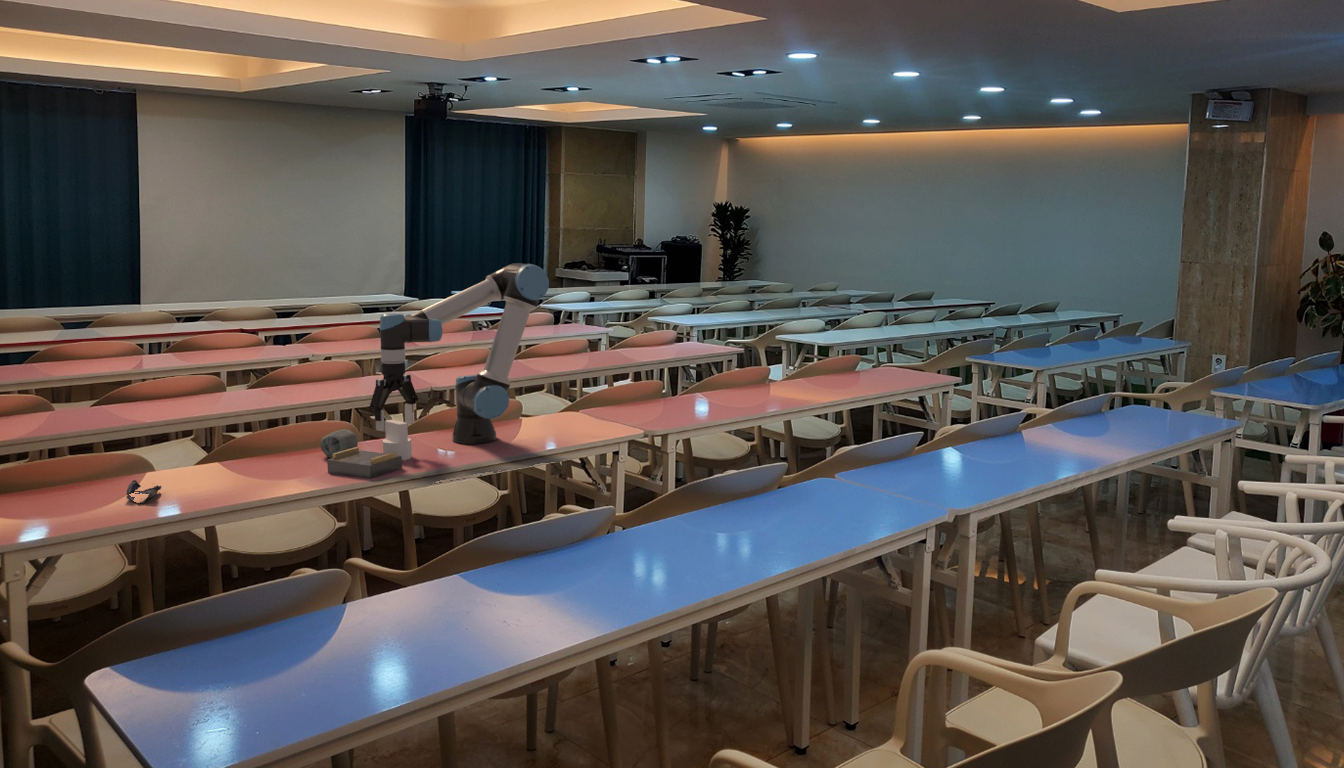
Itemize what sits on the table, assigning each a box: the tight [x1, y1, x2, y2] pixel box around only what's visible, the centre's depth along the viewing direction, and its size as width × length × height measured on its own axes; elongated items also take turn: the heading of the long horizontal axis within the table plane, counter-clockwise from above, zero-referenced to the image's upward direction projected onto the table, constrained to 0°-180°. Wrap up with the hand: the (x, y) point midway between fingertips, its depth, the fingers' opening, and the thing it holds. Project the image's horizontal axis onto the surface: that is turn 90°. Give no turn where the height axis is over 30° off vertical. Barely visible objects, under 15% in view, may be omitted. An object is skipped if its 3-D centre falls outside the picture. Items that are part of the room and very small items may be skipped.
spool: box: [320, 428, 359, 459], centre depth 327 cm, size 14×10×10 cm
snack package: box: [126, 479, 162, 504], centre depth 276 cm, size 12×7×12 cm
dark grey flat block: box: [326, 446, 403, 480], centre depth 307 cm, size 14×17×6 cm
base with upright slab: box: [381, 419, 413, 461], centre depth 322 cm, size 9×9×12 cm
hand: (394, 427), depth 321 cm, fingers open, 13 cm apart
